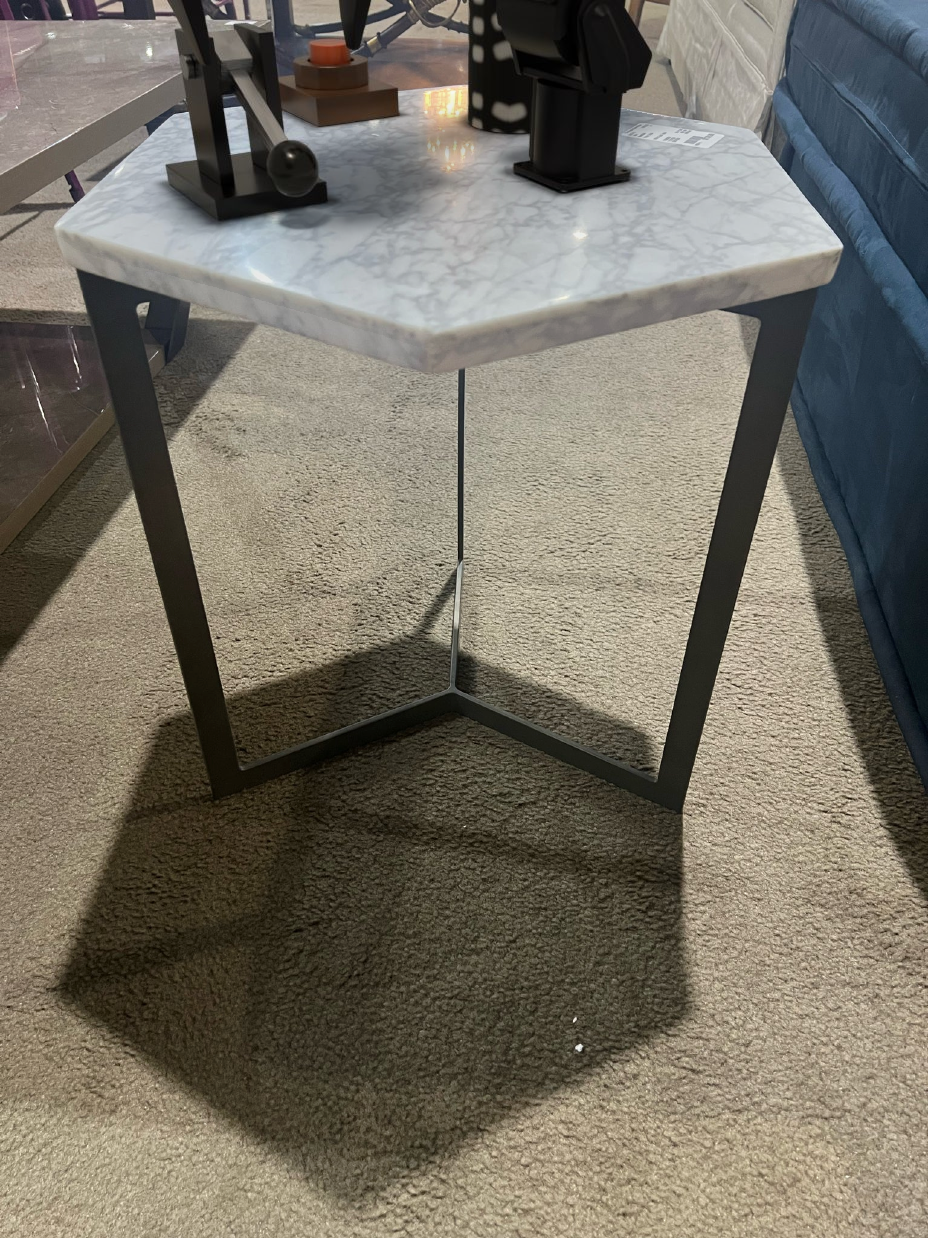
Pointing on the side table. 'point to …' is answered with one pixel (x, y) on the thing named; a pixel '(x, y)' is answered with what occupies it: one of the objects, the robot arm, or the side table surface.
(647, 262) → the side table surface
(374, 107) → the button block
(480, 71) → the spotted black cylinder
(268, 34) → the bracket
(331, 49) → the button
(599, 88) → the robot arm
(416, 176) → the side table surface
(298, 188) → the lever
